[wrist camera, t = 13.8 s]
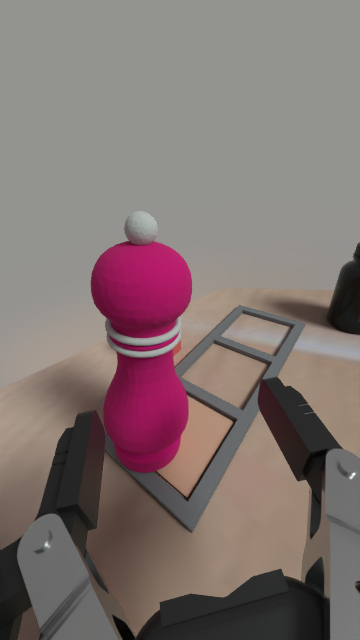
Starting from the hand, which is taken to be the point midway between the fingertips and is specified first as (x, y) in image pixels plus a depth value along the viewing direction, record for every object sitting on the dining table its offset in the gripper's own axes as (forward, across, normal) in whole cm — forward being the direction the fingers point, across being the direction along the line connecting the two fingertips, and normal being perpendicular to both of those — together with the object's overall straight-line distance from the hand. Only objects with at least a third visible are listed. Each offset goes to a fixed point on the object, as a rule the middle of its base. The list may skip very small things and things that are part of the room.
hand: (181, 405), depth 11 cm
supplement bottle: (+18, -29, +13) cm, 37 cm away
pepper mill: (+6, +3, +12) cm, 14 cm away
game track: (+13, -7, +12) cm, 19 cm away
